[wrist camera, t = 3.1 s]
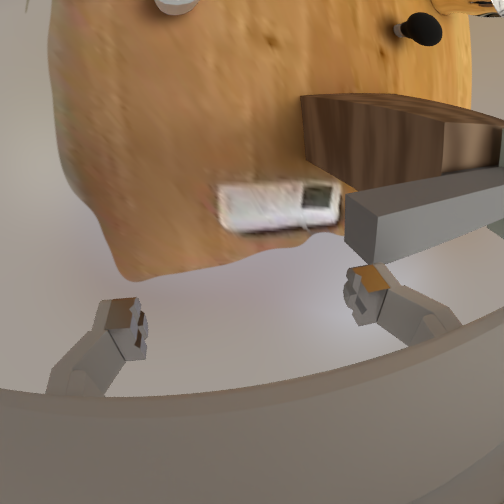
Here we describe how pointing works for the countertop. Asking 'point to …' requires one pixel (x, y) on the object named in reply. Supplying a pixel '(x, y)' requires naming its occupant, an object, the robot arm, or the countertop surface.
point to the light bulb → (420, 29)
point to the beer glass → (470, 7)
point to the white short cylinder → (176, 6)
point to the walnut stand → (396, 138)
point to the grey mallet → (424, 213)
